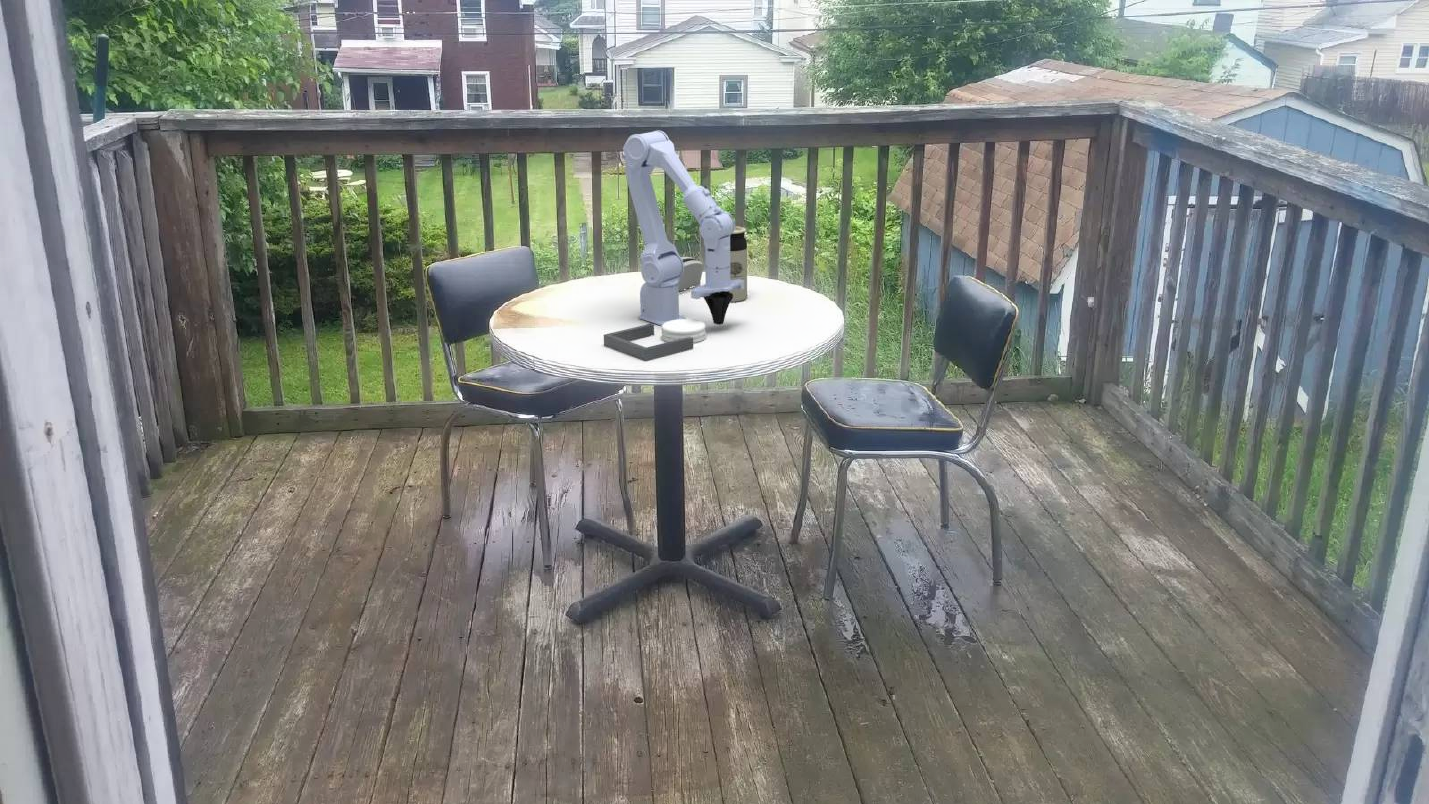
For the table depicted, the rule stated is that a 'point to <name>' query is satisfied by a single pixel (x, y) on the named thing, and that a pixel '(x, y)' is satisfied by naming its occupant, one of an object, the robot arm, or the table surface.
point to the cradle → (623, 344)
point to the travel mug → (738, 262)
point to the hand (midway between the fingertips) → (718, 323)
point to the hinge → (690, 273)
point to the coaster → (683, 330)
